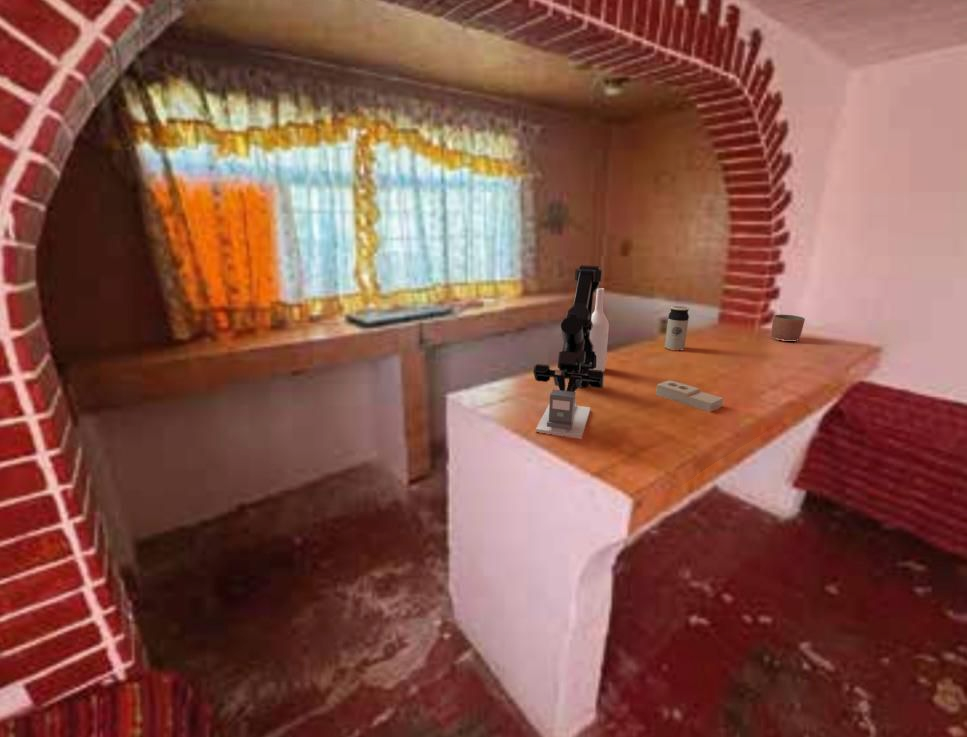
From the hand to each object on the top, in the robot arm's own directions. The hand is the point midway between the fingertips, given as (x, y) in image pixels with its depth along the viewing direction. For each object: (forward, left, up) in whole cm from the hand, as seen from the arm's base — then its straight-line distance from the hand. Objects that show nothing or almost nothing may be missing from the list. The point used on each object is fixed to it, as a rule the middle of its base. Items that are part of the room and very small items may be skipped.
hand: (563, 403), depth 130 cm
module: (+2, +1, -5) cm, 5 cm away
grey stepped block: (-40, +24, -7) cm, 47 cm away
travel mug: (-102, +6, -7) cm, 102 cm away
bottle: (-54, -12, -7) cm, 55 cm away
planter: (-148, +45, -7) cm, 155 cm away
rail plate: (-4, -1, -7) cm, 8 cm away
